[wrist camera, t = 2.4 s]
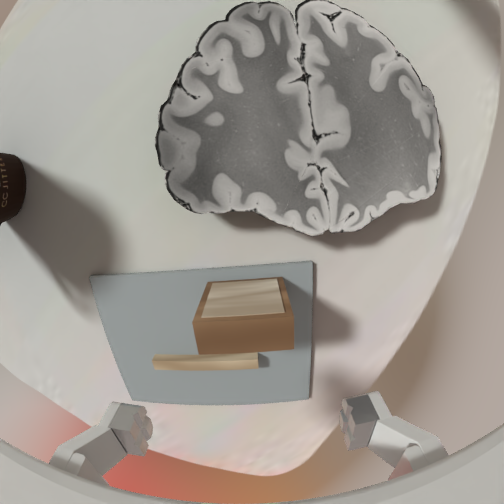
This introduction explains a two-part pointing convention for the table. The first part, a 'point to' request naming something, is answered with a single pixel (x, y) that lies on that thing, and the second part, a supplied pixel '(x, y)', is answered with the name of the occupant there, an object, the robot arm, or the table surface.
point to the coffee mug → (11, 186)
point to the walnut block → (244, 317)
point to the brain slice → (298, 120)
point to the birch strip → (206, 362)
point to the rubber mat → (183, 339)
